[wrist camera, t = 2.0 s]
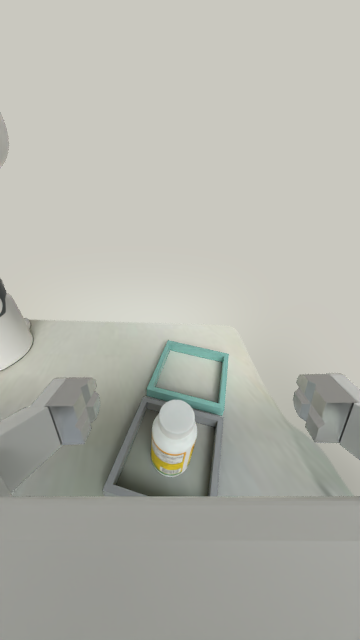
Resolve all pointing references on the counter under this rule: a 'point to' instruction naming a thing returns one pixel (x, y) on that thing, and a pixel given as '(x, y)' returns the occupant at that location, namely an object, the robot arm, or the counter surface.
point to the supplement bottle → (173, 438)
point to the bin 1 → (192, 401)
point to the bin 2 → (146, 403)
